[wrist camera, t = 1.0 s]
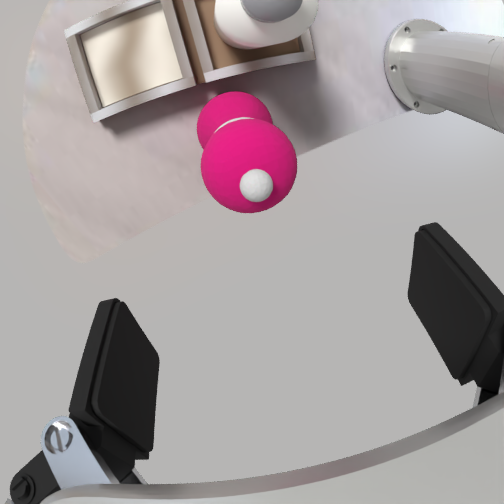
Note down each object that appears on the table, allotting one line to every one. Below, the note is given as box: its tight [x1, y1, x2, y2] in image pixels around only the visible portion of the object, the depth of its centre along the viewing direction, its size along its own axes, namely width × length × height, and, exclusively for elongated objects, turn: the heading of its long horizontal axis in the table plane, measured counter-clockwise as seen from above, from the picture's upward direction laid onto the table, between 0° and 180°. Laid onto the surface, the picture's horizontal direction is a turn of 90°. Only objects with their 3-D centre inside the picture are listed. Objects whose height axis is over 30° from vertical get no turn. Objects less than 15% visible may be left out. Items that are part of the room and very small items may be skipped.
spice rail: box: [64, 0, 316, 123], centre depth 26 cm, size 24×11×3 cm, turn 103°
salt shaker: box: [213, 0, 318, 50], centre depth 20 cm, size 7×7×14 cm
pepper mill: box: [197, 91, 297, 213], centre depth 25 cm, size 7×7×20 cm
